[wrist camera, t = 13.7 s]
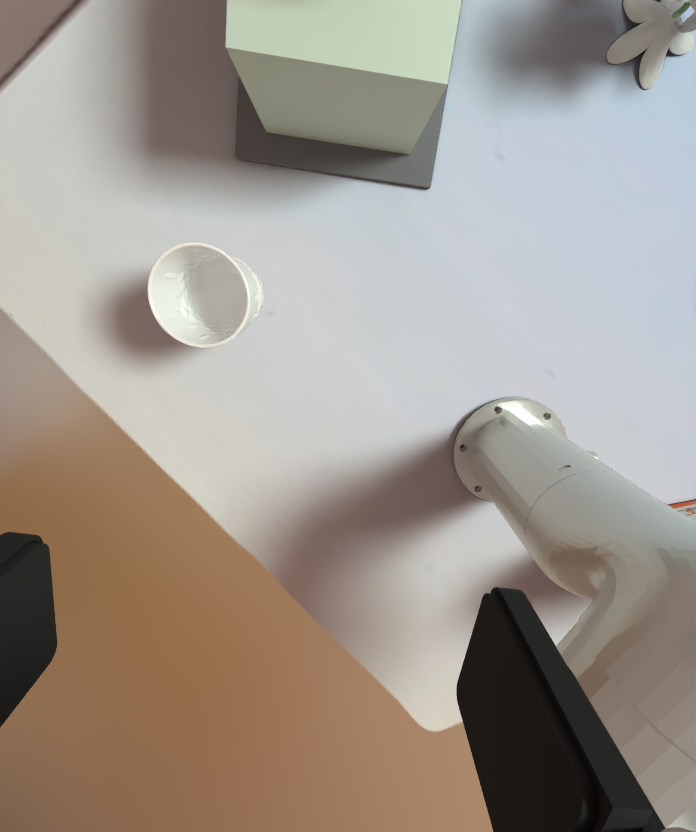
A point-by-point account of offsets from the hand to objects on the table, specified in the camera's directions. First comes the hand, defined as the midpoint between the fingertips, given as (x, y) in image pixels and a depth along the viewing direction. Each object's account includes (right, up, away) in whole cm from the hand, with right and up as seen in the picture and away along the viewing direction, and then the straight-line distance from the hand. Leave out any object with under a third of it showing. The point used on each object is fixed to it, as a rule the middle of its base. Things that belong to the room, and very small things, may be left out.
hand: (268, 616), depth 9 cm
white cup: (-10, +17, +33) cm, 38 cm away
